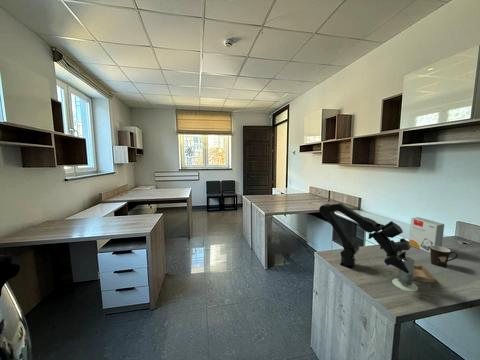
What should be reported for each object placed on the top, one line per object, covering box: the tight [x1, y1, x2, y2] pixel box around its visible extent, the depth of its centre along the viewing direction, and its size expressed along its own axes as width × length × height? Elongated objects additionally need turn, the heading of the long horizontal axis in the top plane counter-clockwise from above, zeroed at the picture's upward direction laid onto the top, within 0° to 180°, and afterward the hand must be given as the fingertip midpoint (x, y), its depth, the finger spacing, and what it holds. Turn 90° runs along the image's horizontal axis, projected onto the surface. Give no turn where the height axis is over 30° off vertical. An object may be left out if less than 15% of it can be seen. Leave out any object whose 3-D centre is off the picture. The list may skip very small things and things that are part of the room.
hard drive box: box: [408, 216, 445, 254], centre depth 140 cm, size 16×8×20 cm, turn 17°
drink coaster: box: [391, 277, 419, 292], centre depth 103 cm, size 10×10×1 cm
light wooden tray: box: [393, 264, 437, 284], centre depth 112 cm, size 14×14×2 cm
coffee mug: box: [429, 245, 458, 268], centre depth 119 cm, size 12×9×10 cm
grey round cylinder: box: [397, 256, 415, 285], centre depth 102 cm, size 6×6×12 cm
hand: (409, 270), depth 101 cm, fingers closed on grey round cylinder, 5 cm apart
